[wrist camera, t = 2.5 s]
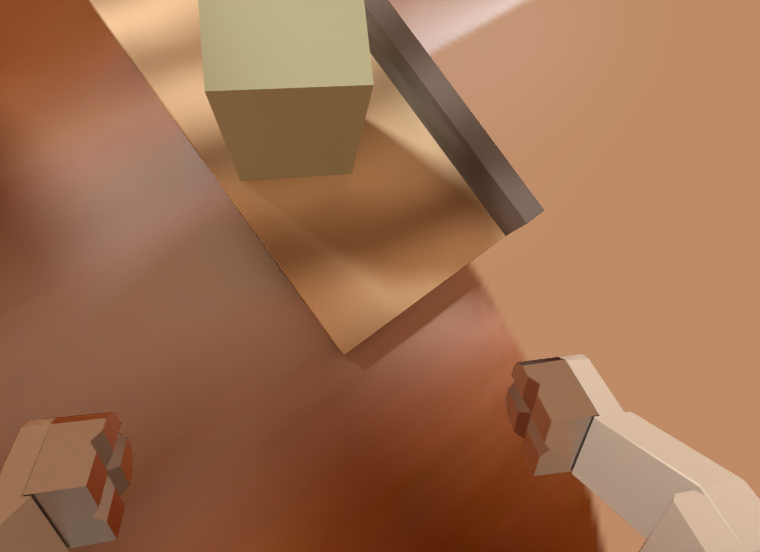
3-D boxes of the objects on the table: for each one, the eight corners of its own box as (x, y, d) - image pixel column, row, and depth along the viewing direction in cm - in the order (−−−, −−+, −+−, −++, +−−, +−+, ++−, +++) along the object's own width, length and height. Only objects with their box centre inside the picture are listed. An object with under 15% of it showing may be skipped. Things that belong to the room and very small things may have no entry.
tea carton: (351, 173, 29) (373, 84, 19) (240, 180, 28) (204, 91, 19) (343, 101, 30) (361, -22, 20) (234, 106, 29) (196, -20, 19)
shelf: (95, 10, 30) (58, -48, 26) (286, -91, 33) (282, -160, 28) (342, 354, 29) (348, 355, 25) (519, 224, 32) (552, 204, 27)
